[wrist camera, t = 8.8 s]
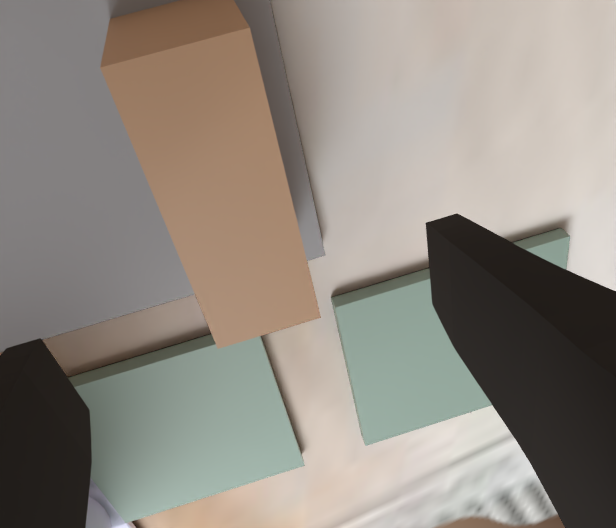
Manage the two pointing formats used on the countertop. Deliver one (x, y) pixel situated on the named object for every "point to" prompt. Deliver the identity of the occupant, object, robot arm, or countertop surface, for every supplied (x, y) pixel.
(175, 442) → the pair of green tiles
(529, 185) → the countertop surface
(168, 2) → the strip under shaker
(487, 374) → the robot arm
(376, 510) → the countertop surface
